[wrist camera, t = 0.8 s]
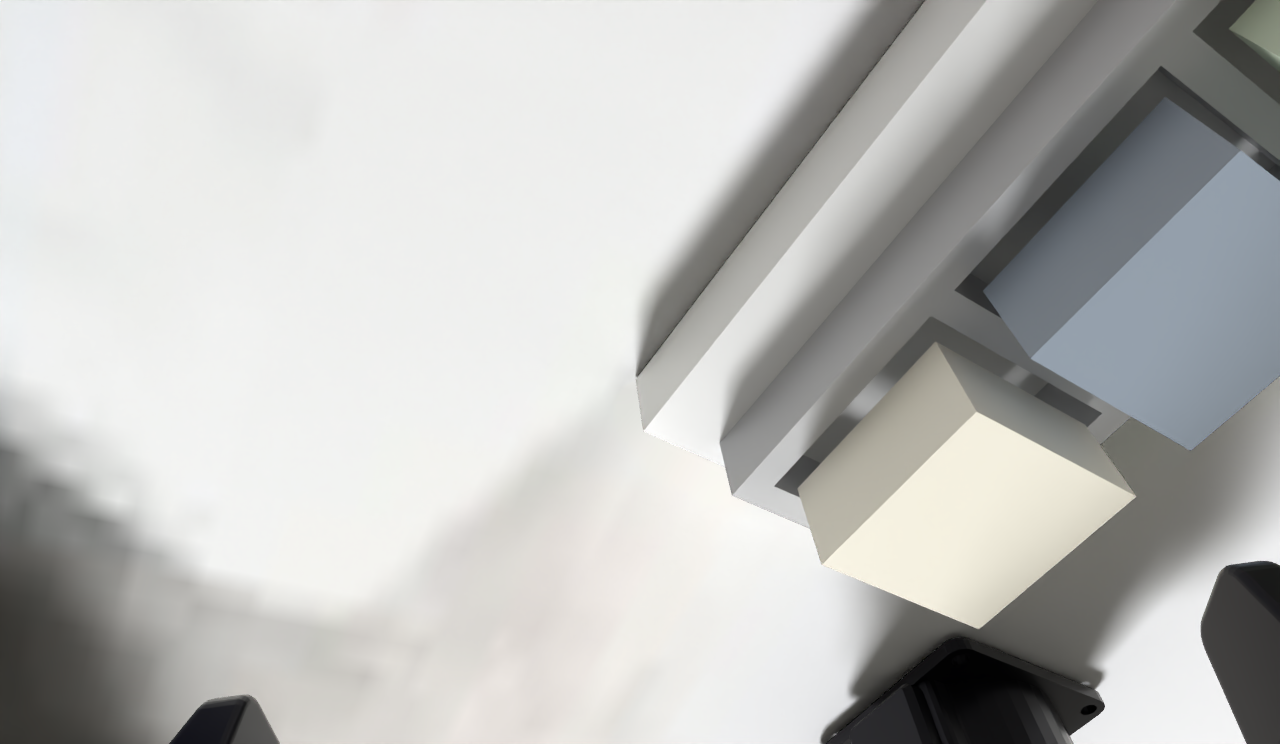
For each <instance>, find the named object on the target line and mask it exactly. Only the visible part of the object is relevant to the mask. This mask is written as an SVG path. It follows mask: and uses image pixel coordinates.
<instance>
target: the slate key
mask: <svg viewBox="0 0 1280 744" xmlns="http://www.w3.org/2000/svg"><path fill="white" fill-rule="evenodd" d="M983 292H984V294H985V295H986V296H987V298H988V299H989V301H990V302H991V303H992V305H993V306H994V308H995V309H996V311H997V312H998V313H999V315H1000V316H1001V318H1002V319H1003V321H1004V322H1005V323H1006V325H1007V326H1008V328H1009V329H1010V330H1011V332H1012V333H1013V335H1014V336H1015V338H1016V339H1017V340H1018V342H1019V343H1020V345H1021V346H1022V347H1023V349H1024V350H1025V352H1026V353H1027V355H1028V356H1029V357H1030V359H1032V360H1034V361H1035V362H1037V363H1039V364H1041V365H1042V366H1044V367H1046V368H1048V369H1049V370H1051V371H1053V372H1055V373H1056V374H1058V375H1060V376H1061V377H1063V378H1065V379H1067V380H1068V381H1070V382H1072V383H1074V384H1075V385H1077V386H1079V387H1081V388H1082V389H1084V390H1086V391H1087V392H1089V393H1091V394H1093V395H1094V396H1096V397H1098V398H1100V399H1101V400H1103V401H1105V402H1107V403H1108V404H1110V405H1112V406H1114V407H1115V408H1117V409H1119V410H1120V411H1122V412H1124V413H1126V414H1127V415H1129V416H1131V417H1133V418H1134V419H1136V420H1138V421H1140V422H1141V423H1143V424H1145V425H1146V426H1148V427H1150V428H1152V429H1153V430H1155V431H1157V432H1159V433H1160V434H1162V435H1164V436H1166V437H1167V438H1169V439H1171V440H1172V441H1174V442H1176V443H1178V444H1179V445H1181V446H1183V447H1185V448H1186V449H1188V450H1190V451H1191V450H1192V449H1194V448H1195V447H1196V446H1197V445H1198V444H1200V443H1201V442H1202V441H1203V440H1204V439H1205V438H1207V437H1208V436H1209V435H1210V434H1211V433H1213V432H1214V431H1215V430H1216V429H1217V428H1219V427H1220V426H1221V425H1222V424H1223V423H1224V422H1226V421H1227V420H1228V419H1229V418H1230V417H1232V416H1233V415H1234V414H1235V413H1236V412H1238V411H1239V410H1240V409H1241V408H1242V407H1243V406H1245V405H1246V404H1247V403H1248V402H1249V401H1251V400H1252V399H1253V398H1254V397H1255V396H1257V395H1258V394H1259V393H1260V392H1261V391H1262V390H1264V389H1265V388H1266V387H1267V386H1268V385H1270V384H1271V383H1272V382H1273V381H1274V380H1275V379H1277V378H1278V377H1279V376H1280V181H1279V180H1278V179H1276V178H1275V177H1274V176H1273V175H1271V174H1270V173H1269V172H1268V171H1266V170H1265V169H1264V168H1262V167H1261V166H1260V165H1259V164H1257V163H1256V162H1255V161H1254V160H1252V159H1251V158H1250V157H1249V156H1247V155H1246V154H1245V153H1243V152H1242V151H1241V150H1240V149H1238V148H1237V147H1235V146H1234V145H1232V144H1231V143H1230V142H1228V141H1227V140H1225V139H1224V138H1223V137H1221V136H1220V135H1218V134H1217V133H1216V132H1214V131H1213V130H1211V129H1210V128H1208V127H1207V126H1206V125H1204V124H1203V123H1201V122H1200V121H1199V120H1197V119H1196V118H1194V117H1193V116H1192V115H1190V114H1189V113H1187V112H1186V111H1185V110H1183V109H1182V108H1180V107H1179V106H1177V105H1176V104H1175V103H1173V102H1172V101H1170V100H1169V99H1168V98H1166V97H1164V98H1163V99H1162V100H1161V102H1160V103H1159V104H1158V105H1157V106H1156V107H1155V108H1154V109H1153V110H1152V111H1151V112H1150V113H1149V114H1148V115H1147V116H1146V118H1145V119H1144V120H1143V121H1142V122H1141V123H1140V124H1139V125H1138V126H1137V127H1136V128H1135V129H1134V130H1133V131H1132V132H1131V134H1130V135H1129V136H1128V137H1127V138H1126V139H1125V140H1124V141H1123V142H1122V143H1121V144H1120V145H1119V146H1118V147H1117V148H1116V150H1115V151H1114V152H1113V153H1112V154H1111V155H1110V156H1109V157H1108V158H1107V159H1106V160H1105V161H1104V162H1103V163H1102V164H1101V165H1100V167H1099V168H1098V169H1097V170H1096V171H1095V172H1094V173H1093V174H1092V175H1091V176H1090V177H1089V178H1088V179H1087V180H1086V181H1085V183H1084V184H1083V185H1082V186H1081V187H1080V188H1079V189H1078V190H1077V191H1076V192H1075V193H1074V194H1073V195H1072V196H1071V197H1070V199H1069V200H1068V201H1067V202H1066V203H1065V204H1064V205H1063V206H1062V207H1061V208H1060V209H1059V210H1058V211H1057V212H1056V213H1055V214H1054V216H1053V217H1052V218H1051V219H1050V220H1049V221H1048V222H1047V223H1046V224H1045V225H1044V226H1043V227H1042V228H1041V229H1040V230H1039V232H1038V233H1037V234H1036V235H1035V236H1034V237H1033V238H1032V239H1031V240H1030V241H1029V242H1028V243H1027V244H1026V245H1025V246H1024V248H1023V249H1022V250H1021V251H1020V252H1019V253H1018V254H1017V255H1016V256H1015V257H1014V258H1013V259H1012V260H1011V261H1010V262H1009V264H1008V265H1007V266H1006V267H1005V268H1004V269H1003V270H1002V271H1001V272H1000V273H999V274H998V275H997V276H996V277H995V278H994V279H993V281H992V282H991V283H990V284H989V285H988V286H987V287H986V288H985V289H984V290H983Z"/></svg>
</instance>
